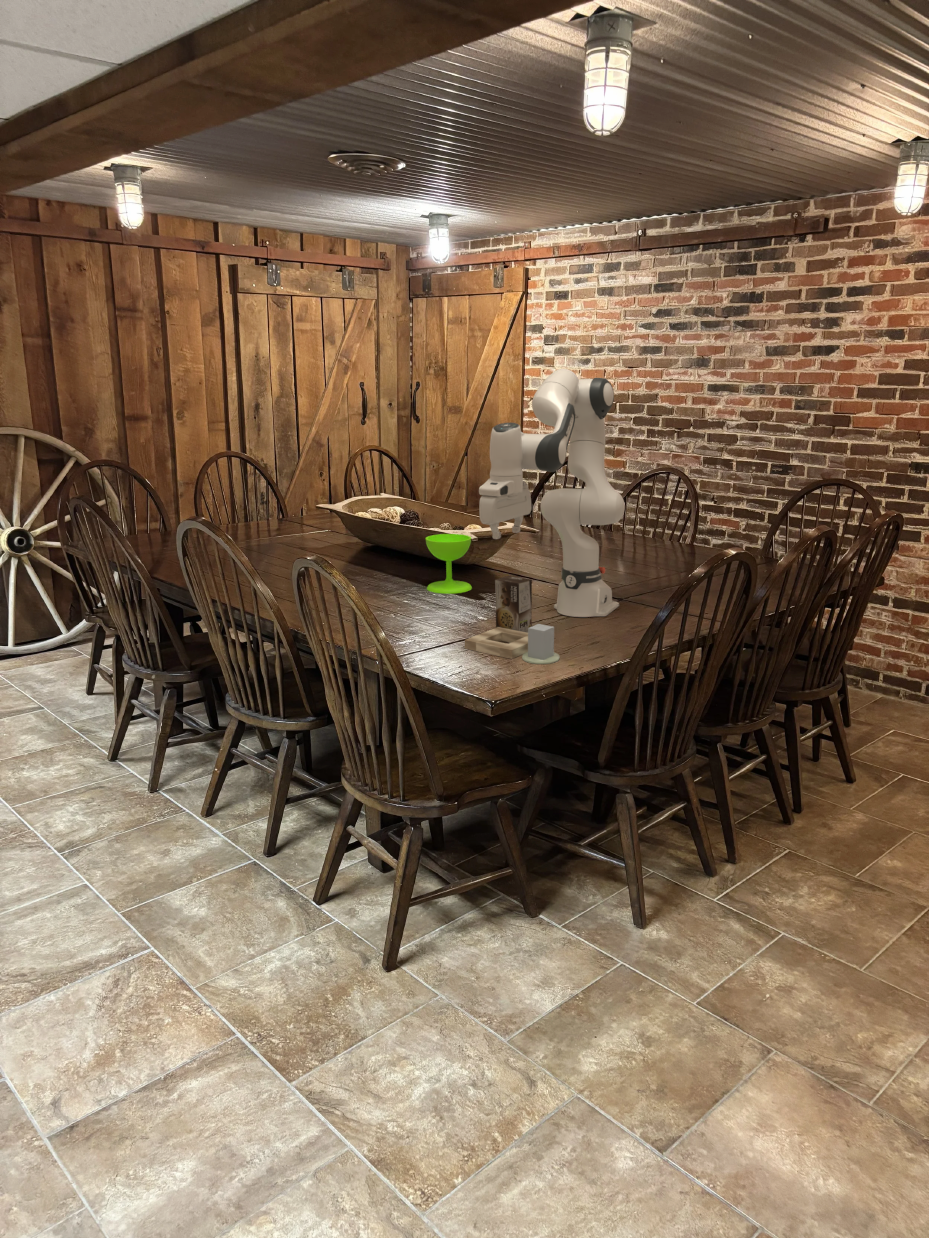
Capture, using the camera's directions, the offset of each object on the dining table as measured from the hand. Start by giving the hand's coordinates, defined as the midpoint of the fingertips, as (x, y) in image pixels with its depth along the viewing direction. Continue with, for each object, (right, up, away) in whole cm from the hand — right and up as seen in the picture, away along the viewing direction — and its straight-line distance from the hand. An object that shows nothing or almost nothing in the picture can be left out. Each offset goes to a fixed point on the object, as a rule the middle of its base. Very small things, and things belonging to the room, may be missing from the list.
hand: (506, 535), depth 250 cm
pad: (+9, -33, -5) cm, 35 cm away
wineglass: (-17, -12, +73) cm, 76 cm away
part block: (+9, -33, -5) cm, 34 cm away
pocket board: (0, -31, +6) cm, 31 cm away
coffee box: (+3, -27, +19) cm, 33 cm away
